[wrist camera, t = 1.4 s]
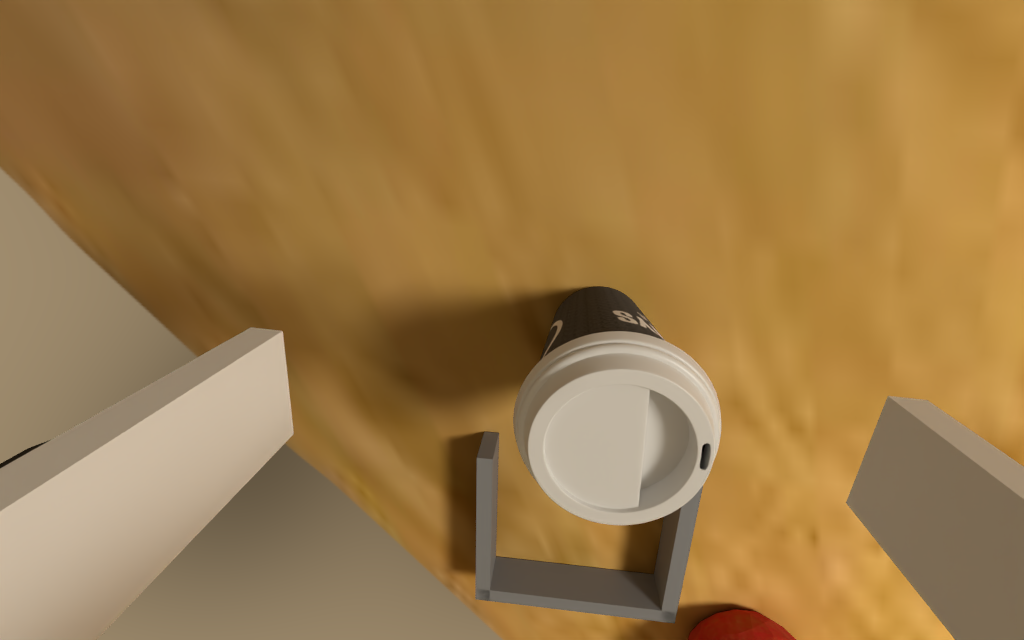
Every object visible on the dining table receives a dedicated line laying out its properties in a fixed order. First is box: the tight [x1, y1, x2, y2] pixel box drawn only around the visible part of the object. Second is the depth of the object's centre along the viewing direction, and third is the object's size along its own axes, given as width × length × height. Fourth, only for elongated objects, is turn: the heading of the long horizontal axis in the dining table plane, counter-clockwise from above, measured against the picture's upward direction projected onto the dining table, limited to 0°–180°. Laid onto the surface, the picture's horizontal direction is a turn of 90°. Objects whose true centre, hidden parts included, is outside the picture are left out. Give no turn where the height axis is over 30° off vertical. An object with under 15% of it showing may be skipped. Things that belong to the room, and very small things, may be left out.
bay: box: [476, 432, 703, 623], centre depth 38 cm, size 14×16×4 cm
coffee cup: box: [513, 287, 721, 525], centre depth 27 cm, size 10×10×15 cm
